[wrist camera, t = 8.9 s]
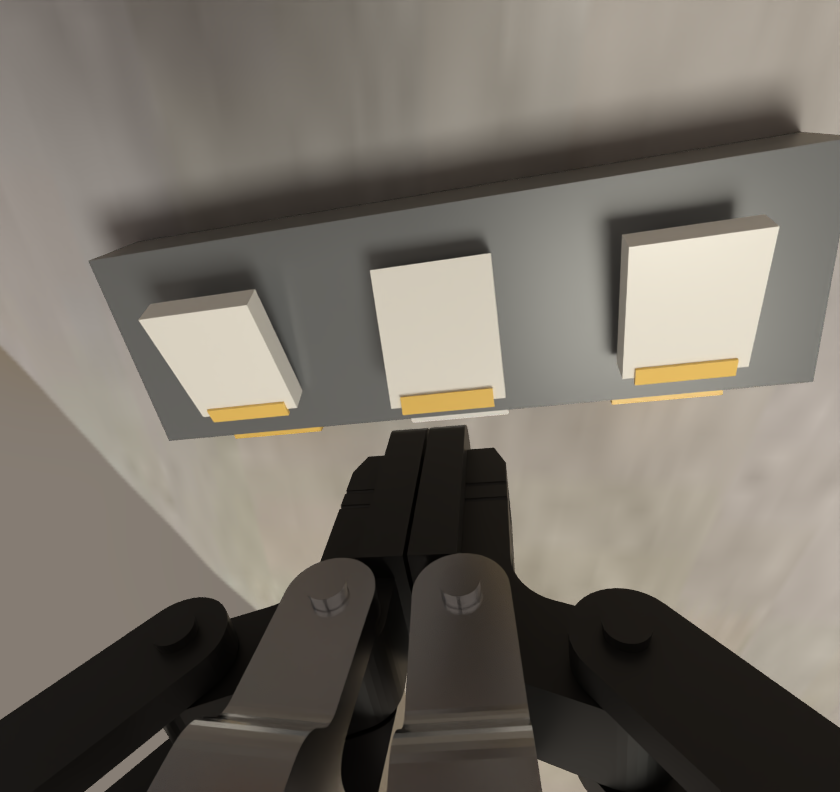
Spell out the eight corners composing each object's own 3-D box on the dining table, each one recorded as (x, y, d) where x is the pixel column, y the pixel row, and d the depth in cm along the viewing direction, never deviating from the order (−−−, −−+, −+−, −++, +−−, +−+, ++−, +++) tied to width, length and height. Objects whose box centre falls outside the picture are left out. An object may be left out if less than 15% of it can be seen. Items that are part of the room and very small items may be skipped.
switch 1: (150, 303, 24) (136, 322, 23) (254, 289, 23) (245, 307, 22) (213, 404, 28) (204, 423, 27) (304, 395, 27) (298, 414, 26)
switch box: (137, 241, 29) (88, 260, 25) (801, 131, 23) (857, 136, 20) (206, 413, 33) (173, 449, 30) (770, 357, 28) (810, 393, 24)
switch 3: (622, 234, 21) (629, 248, 19) (764, 214, 20) (781, 228, 19) (616, 368, 24) (622, 386, 23) (736, 356, 23) (748, 374, 22)
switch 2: (376, 269, 24) (368, 270, 22) (491, 253, 23) (490, 252, 21) (397, 408, 25) (391, 416, 24) (506, 397, 24) (506, 405, 23)
